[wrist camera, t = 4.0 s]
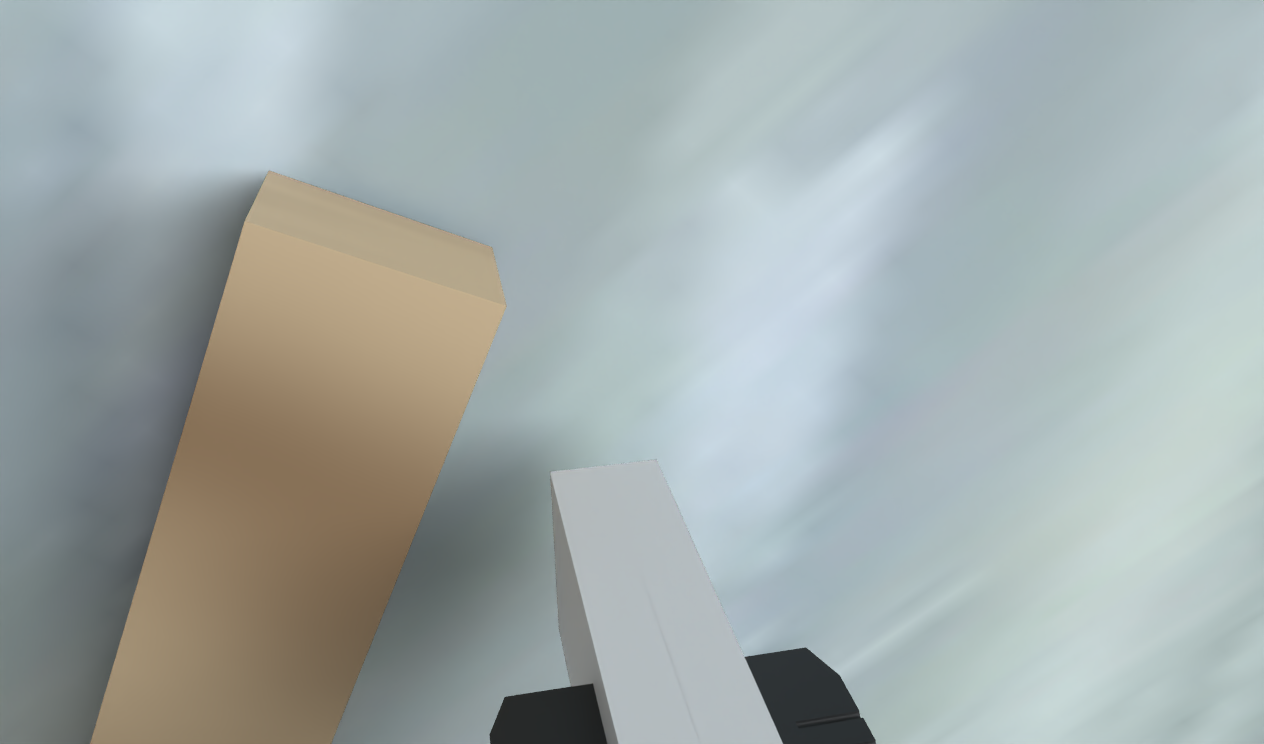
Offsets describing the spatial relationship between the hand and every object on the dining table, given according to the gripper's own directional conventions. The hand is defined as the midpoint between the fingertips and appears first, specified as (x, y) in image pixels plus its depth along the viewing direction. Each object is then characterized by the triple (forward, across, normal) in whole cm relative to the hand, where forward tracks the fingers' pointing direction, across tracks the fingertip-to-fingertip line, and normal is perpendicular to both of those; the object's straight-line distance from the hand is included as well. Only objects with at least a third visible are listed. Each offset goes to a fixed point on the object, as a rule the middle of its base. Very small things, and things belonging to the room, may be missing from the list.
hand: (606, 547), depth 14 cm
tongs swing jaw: (+2, +7, +5) cm, 9 cm away
